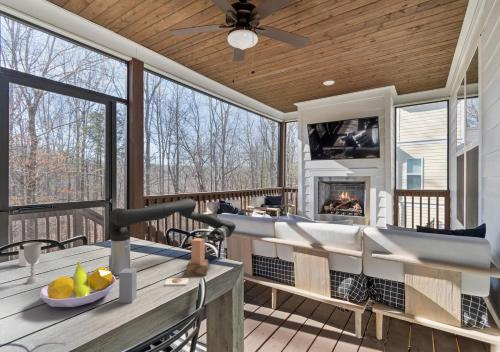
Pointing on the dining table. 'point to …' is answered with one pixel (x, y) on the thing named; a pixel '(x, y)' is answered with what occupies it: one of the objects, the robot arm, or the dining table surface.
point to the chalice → (32, 258)
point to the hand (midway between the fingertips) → (206, 241)
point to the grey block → (127, 285)
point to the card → (176, 282)
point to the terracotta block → (197, 251)
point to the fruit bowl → (78, 288)
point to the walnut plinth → (197, 268)
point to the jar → (21, 256)
